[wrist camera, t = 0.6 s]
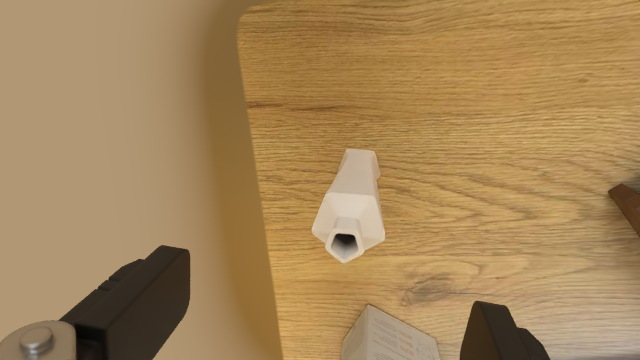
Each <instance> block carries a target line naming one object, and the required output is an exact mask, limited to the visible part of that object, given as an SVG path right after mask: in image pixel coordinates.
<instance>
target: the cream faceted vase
mask: <svg viewBox="0 0 640 360" xmlns="http://www.w3.org/2000/svg"><path fill="white" fill-rule="evenodd" d="M337 173H338V174H337V176H336V178H335V179H334V181H333V183H332V184H331V186H330V188H329V189H328V191H327V193H326V194H325V196H324V199H323V201H322V204H321V206H320V209H319V211H318V214H317V216H316V219H315V221H314V224H313V226H312V229H311V232H312V234H313V235H315V236H316V237H317V238H318V239H320V240H321V241H322V242H323V243H325V244H326V245H325V250H326V251H327V252H328V253H330V254H331V255H332V256H334V257H335V258H336V259H337V260H339V261H340V262H342V263H347V262H349V261H351V260H353V259H355V258H357V257H358V256H360V255H362V254H363V253H364V251H365V250H367V249H369V248H371V247H373V246H375V245H377V244H379V243H381V242H382V241H384V240H385V231H384V225H383V218H382V212H381V206H380V200H379V193H378V187H377V181H376V180H377V179H378V178H379V177H380V176H381V175H380V170H379V166H378V162H377V158H376V154H375V152H374V151H372V150H359V149H347V150H346V151H345V153H344V156H343V158H342V161H341V163H340V166H339V168H338V171H337Z"/></svg>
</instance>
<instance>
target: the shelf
mask: <svg viewBox="0 0 640 360" xmlns="http://www.w3.org/2000/svg"><path fill="white" fill-rule="evenodd" d="M608 193H609V194H610V195H611V197H612V198H613V200H614V201H615V203H616V204H617V205H618V207H619V208H620V210H621V211H622V212H623V214H624V215H625V217H626V218H627V220H628V221H629V222H630V224H631V225H632V227H633V228H634V229H635V231H636V232H637V234H638V235H639V237H640V194H639V193H637V192H636V191H634V190H632V189H630V188H629V187H627V186H625V185H623V184H620V185H618V186H616V187H615V188H613V189H611V190H610V191H608Z"/></svg>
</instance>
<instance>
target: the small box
mask: <svg viewBox="0 0 640 360" xmlns="http://www.w3.org/2000/svg"><path fill="white" fill-rule="evenodd" d="M340 360H440V356H439V351H438V346H437V341H436V339H434V338H432V337H431V336H429V335H427V334H425V333H423V332H421V331H419V330H417V329H415V328H413V327H411V326H409V325H408V324H406V323H404V322H402V321H400V320H398V319H396V318H394V317H392V316H390V315H388V314H386V313H385V312H383V311H381V310H379V309H377V308H375V307H373V306H371V305H369V304H368V305H367V306H366V308H365V309H364V311H363V312H362V314H361V315H360V316H359V318H358V319H357V321H356V322H355V324H354V325H353V327H352V328H351V330H350V331H349V333H348V334H347V335H346V337H345V338H344V340H343V342H342V350H341V358H340Z"/></svg>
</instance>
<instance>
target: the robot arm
mask: <svg viewBox="0 0 640 360" xmlns="http://www.w3.org/2000/svg"><path fill="white" fill-rule="evenodd" d="M189 300H190V253H189V251H188V250H187V249H182V248H176V247H170V246H164V245H161V246H159V247H158V248H157V249H156V250H155V251H154V252H153V253H151V254H150V255H149V256H148V257H147V258H146V259H145V260H143V259H138V260H136V261H134V262H132V263H129V264H127V265H125V266H123V267H121V268H120V269H119V270H118V271H116V272H115V273H114V274H113V275H112V276H110V277H109V280H106V281H104V282H103V283H102V284H101V285H100V286H99V287H98V289H95V290H94V291H93V292H91V293H90V294H89V295H88V296H87V297H86V298H84V300H82V301H81V302H80V303H78V304H77V305H76V306H75V307H74V308H72V309H71V310H70V311H69V312H68V313H67V314H65V315H64V316H63V317H62V318H61V319H60V320H58V321H54V320H51V321H42V322H37V323H33V324H30V325H27V326H24V327H22V328H20V329H18V330H16V331H14V332H12V333H11V334H9V335H8V336H7V337H5V338H4V339H3V340H2V341H1V342H0V360H152V359H153V358H154V357H155V355H156V354H157V353H158V351H159V350H160V349H161V347H162V346H163V344H164V343H165V342H166V340H167V339H168V338H169V336H170V335H171V334H172V332H173V331H174V330H175V328H176V327H177V325H178V324H179V323H180V321H181V320H182V319H183V317H184V315H185V313H186V311H187V308H188V305H189ZM460 360H550V358H549V356H548V354H547V352H546V351H545V349H544V347H543V345H542V344H541V343H540V342H539V341H538V340H537V339H536V338H535V337H534V336H533V335H532V334H531V333H530V332H529V331H528V330H527V329H524V328H518V327H517V326H516V324H515V322H514V320H513V318H512V316H511V314H510V312H509V309H508V308H507V307H506V306H505V305H499V304H493V303H487V302H482V301H475V302H474V304H473V306H472V309H471V313H470V317H469V320H468V324H467V328H466V331H465V335H464V339H463V342H462V346H461V351H460Z"/></svg>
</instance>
